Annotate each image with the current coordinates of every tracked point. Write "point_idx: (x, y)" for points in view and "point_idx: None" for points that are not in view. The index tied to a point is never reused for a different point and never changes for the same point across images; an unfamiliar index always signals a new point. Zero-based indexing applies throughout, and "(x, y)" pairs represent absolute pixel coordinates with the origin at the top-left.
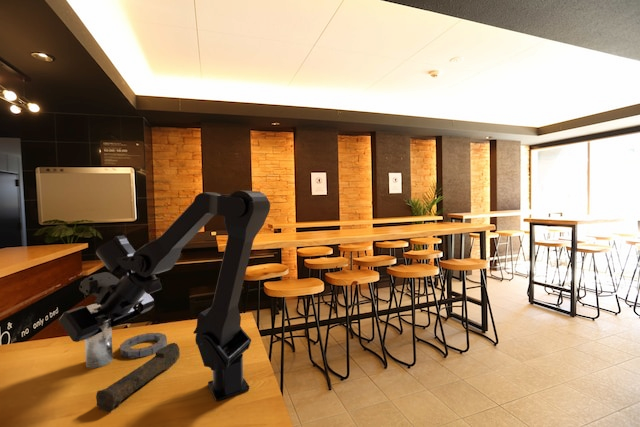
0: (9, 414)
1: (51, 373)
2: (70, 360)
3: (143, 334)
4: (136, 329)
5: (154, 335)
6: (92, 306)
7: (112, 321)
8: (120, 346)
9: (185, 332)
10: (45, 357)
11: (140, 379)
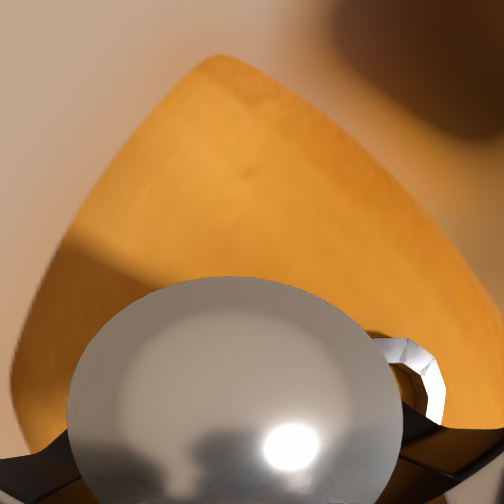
0: (13, 369)
1: (131, 279)
2: (207, 250)
3: (422, 353)
4: (439, 246)
5: (428, 398)
6: (200, 392)
7: None
8: None
9: (473, 418)
10: (197, 158)
11: None
